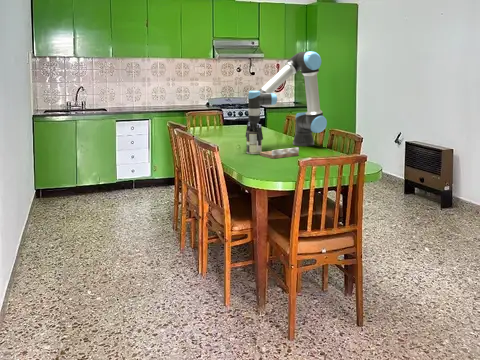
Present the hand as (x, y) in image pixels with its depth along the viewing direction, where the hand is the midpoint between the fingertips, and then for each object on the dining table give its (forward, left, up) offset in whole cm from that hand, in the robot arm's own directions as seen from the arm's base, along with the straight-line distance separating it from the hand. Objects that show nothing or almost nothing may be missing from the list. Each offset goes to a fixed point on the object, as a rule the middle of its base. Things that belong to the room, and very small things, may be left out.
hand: (254, 149), depth 328 cm
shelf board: (-8, +17, -2) cm, 19 cm away
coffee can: (0, 0, -2) cm, 2 cm away
